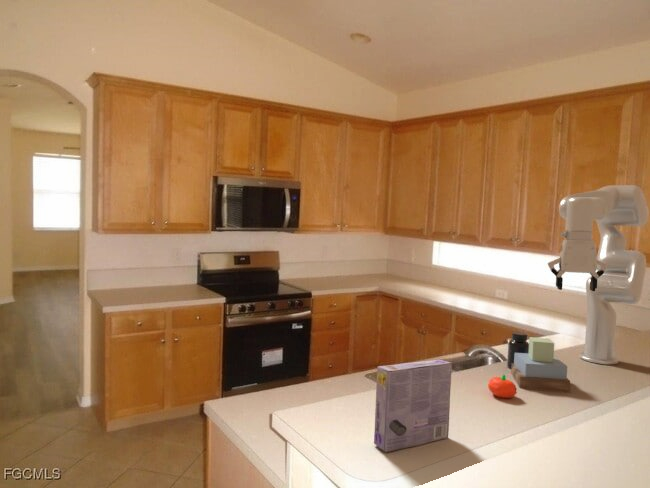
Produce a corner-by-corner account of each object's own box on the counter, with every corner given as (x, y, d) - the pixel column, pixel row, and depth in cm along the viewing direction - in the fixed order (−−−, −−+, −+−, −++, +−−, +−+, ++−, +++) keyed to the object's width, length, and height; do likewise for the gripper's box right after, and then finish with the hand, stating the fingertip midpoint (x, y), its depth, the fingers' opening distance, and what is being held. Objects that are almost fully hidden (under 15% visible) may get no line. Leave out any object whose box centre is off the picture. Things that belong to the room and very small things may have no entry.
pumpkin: (498, 391, 145) (502, 370, 145) (519, 401, 137) (523, 379, 137) (480, 391, 142) (483, 369, 142) (501, 401, 134) (504, 378, 134)
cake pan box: (438, 429, 116) (442, 356, 115) (453, 437, 112) (457, 362, 111) (371, 444, 107) (374, 365, 106) (384, 454, 103) (388, 372, 102)
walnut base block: (510, 375, 161) (511, 363, 160) (556, 379, 158) (556, 367, 158) (519, 389, 147) (520, 376, 147) (569, 394, 144) (570, 381, 144)
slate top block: (513, 364, 159) (514, 352, 159) (552, 367, 158) (552, 355, 158) (525, 376, 147) (525, 363, 147) (566, 379, 146) (567, 366, 146)
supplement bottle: (525, 372, 162) (527, 337, 162) (504, 368, 166) (506, 333, 166) (530, 367, 168) (532, 333, 167) (510, 363, 172) (512, 330, 171)
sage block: (528, 355, 156) (529, 337, 155) (548, 357, 154) (549, 338, 154) (532, 360, 150) (533, 341, 150) (553, 362, 149) (554, 343, 148)
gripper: (552, 236, 152) (549, 290, 154) (613, 238, 149) (609, 293, 150) (546, 235, 160) (544, 286, 161) (604, 236, 156) (601, 289, 157)
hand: (575, 289), depth 155 cm, fingers open, 9 cm apart
